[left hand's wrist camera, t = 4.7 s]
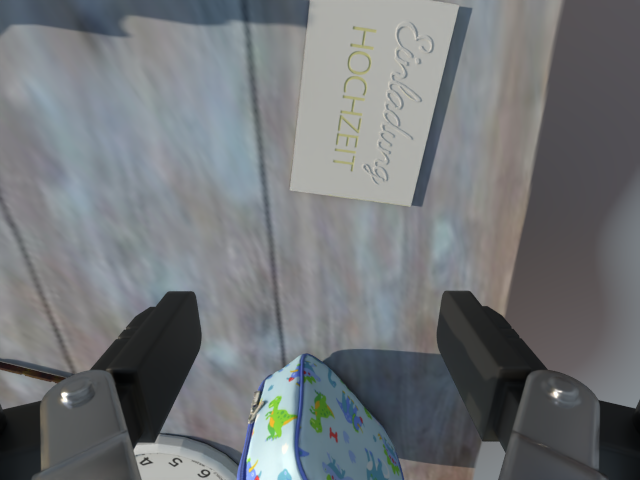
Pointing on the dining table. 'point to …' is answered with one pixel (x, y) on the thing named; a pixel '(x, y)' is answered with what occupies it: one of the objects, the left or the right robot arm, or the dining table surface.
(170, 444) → the wall clock
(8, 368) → the brown stick
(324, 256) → the dining table surface
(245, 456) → the lunch box
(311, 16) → the invitation card
